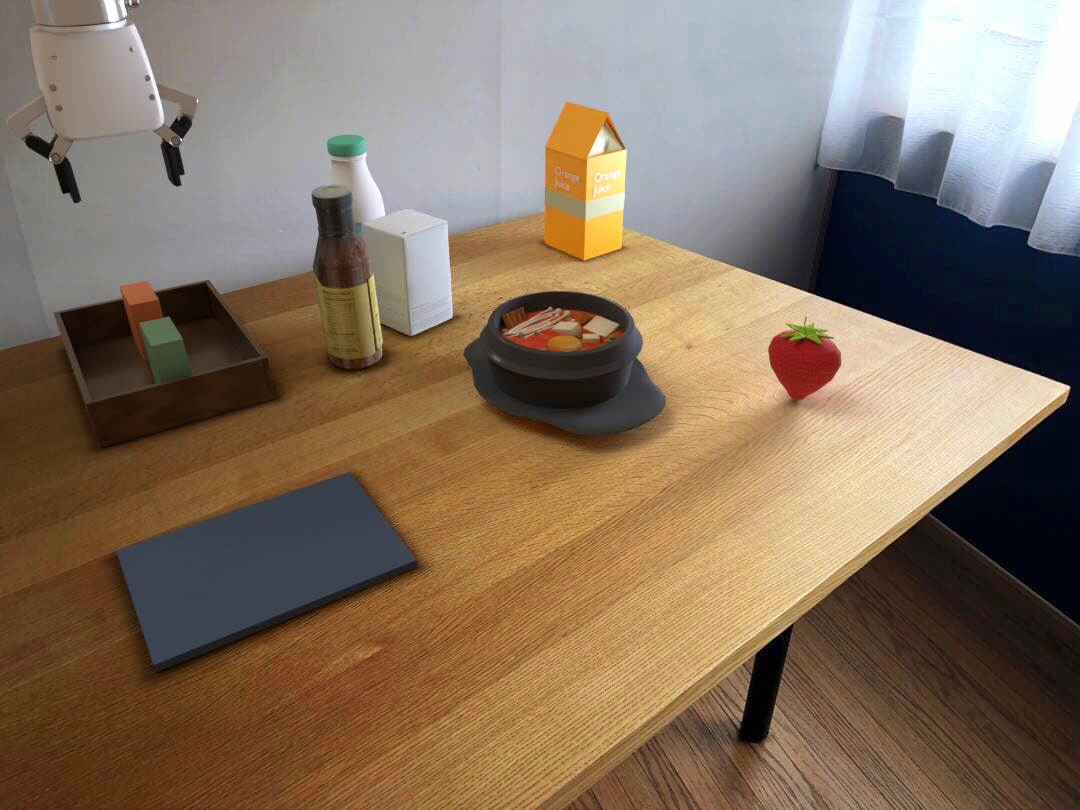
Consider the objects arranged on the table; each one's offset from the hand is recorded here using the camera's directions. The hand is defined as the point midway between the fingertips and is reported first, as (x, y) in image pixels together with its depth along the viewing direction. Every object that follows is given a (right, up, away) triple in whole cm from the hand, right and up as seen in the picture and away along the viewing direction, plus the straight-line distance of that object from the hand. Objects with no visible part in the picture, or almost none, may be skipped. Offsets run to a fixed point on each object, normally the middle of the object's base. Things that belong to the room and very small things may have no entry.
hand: (126, 191), depth 89 cm
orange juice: (+49, +1, +39) cm, 63 cm away
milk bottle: (+19, -7, +25) cm, 33 cm away
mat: (+21, -35, -19) cm, 45 cm away
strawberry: (+70, -22, +2) cm, 73 cm away
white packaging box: (+27, -12, +18) cm, 35 cm away
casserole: (+45, -21, +4) cm, 49 cm away
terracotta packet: (-2, -16, +10) cm, 19 cm away
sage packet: (+4, -20, +3) cm, 21 cm away
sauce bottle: (+22, -17, +9) cm, 29 cm away
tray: (+1, -19, +6) cm, 20 cm away
